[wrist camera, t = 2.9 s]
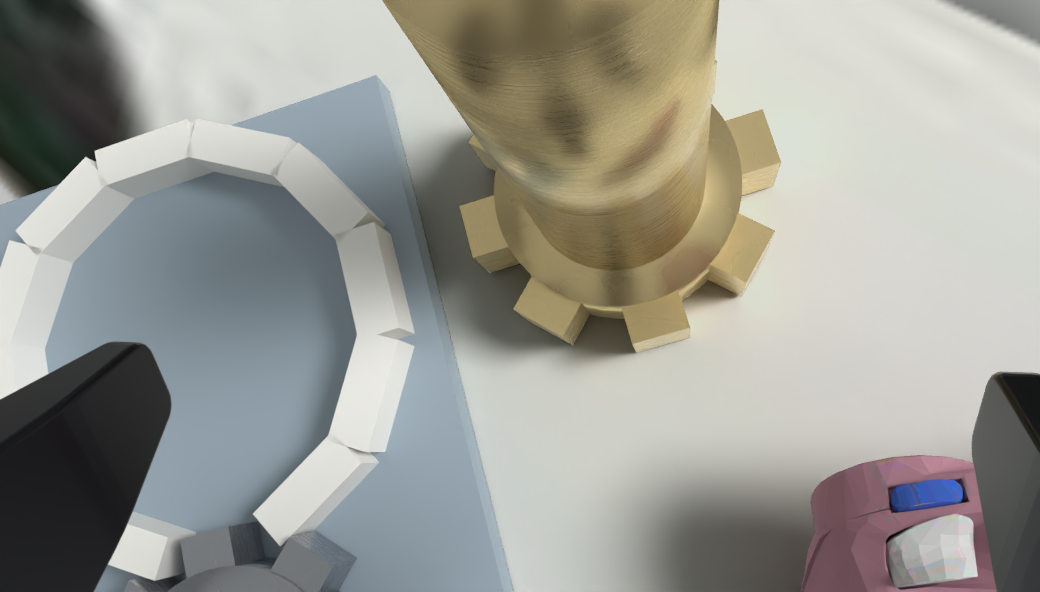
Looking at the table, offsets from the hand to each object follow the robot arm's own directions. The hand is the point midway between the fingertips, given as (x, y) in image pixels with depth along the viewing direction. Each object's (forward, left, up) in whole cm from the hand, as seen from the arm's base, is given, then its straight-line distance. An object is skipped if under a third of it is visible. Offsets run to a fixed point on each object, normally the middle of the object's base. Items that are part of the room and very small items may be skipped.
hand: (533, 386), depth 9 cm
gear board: (+1, +9, -12) cm, 15 cm away
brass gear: (+5, -2, -12) cm, 13 cm away
